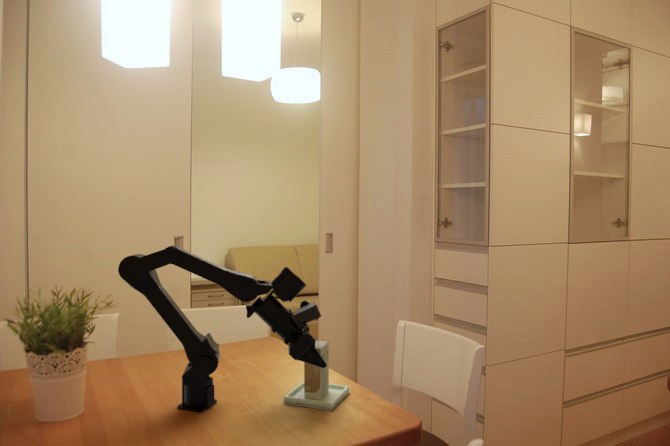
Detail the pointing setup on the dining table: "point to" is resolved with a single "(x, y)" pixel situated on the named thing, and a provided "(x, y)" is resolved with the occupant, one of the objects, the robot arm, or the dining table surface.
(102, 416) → the dining table surface
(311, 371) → the skincare box
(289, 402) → the sage dish
